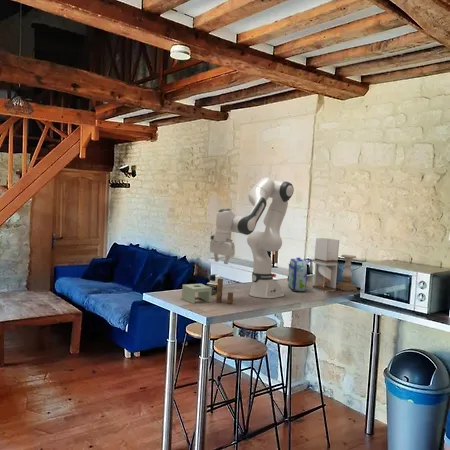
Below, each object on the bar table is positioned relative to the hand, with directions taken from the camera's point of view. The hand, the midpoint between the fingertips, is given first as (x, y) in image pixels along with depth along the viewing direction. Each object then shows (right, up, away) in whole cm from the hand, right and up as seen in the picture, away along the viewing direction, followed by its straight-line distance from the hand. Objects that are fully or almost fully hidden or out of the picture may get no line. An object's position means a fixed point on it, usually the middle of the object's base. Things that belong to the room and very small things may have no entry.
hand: (221, 262), depth 248 cm
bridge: (-14, -21, +2) cm, 26 cm away
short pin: (+5, -23, -1) cm, 23 cm away
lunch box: (+51, -23, +55) cm, 78 cm away
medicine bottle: (-5, -21, +21) cm, 30 cm away
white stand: (+70, -24, +58) cm, 94 cm away
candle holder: (+87, -25, +65) cm, 111 cm away
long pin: (-1, -22, +1) cm, 22 cm away
